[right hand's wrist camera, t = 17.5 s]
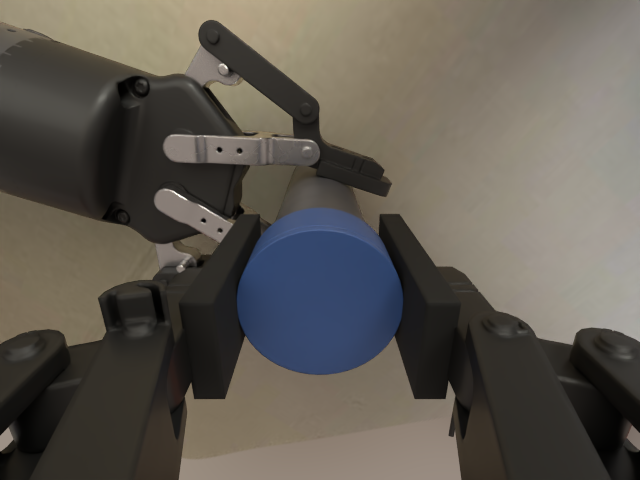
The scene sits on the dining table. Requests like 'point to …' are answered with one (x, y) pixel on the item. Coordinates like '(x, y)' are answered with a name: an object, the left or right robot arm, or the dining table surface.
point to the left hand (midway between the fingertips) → (368, 226)
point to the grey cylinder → (317, 194)
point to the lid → (319, 293)
